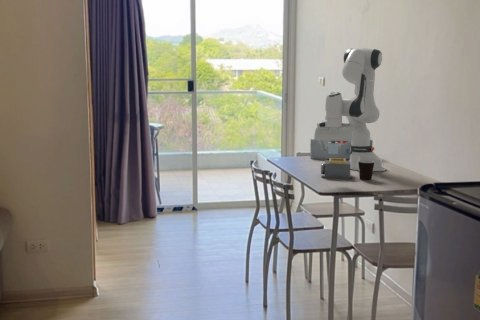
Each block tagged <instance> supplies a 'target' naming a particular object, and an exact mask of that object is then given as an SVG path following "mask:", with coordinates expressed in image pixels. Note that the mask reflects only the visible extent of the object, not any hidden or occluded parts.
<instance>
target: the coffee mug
mask: <svg viewBox="0 0 480 320" xmlns="http://www.w3.org/2000/svg"><path fill="white" fill-rule="evenodd" d="M358 164H359V171H358V175H359V177H358V178H359V180H361V181H363V182H364V181H365V182H367V181H372V177H373V173H374V171H373V167H374V161H370V160H360V161H358Z"/></svg>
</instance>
